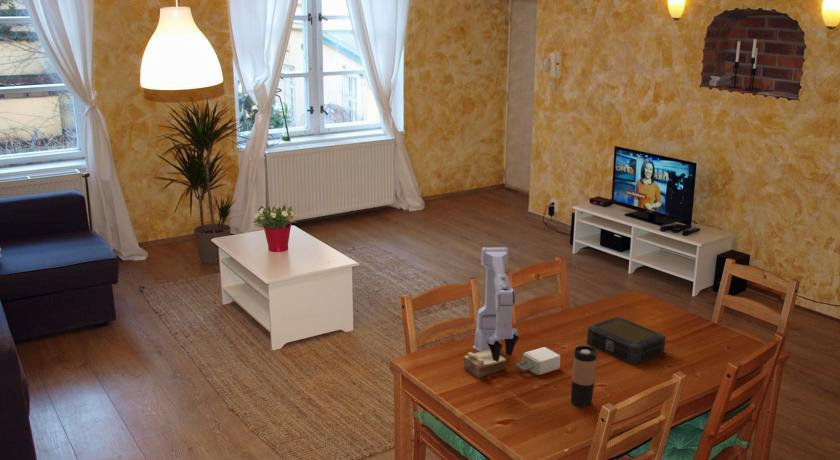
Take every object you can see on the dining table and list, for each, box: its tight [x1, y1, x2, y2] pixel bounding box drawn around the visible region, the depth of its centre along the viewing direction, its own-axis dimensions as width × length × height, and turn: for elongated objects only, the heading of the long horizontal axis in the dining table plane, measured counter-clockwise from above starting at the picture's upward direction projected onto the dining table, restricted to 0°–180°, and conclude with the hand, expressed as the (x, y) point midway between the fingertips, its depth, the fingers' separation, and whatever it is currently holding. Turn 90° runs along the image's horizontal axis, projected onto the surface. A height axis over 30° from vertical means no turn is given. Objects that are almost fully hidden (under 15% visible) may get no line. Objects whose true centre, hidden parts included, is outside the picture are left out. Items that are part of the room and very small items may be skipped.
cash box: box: [586, 316, 667, 365], centre depth 329 cm, size 25×20×8 cm
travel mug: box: [570, 345, 598, 409], centre depth 283 cm, size 8×8×20 cm
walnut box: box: [463, 358, 507, 379], centre depth 307 cm, size 10×12×5 cm
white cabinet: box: [523, 346, 561, 375], centre depth 308 cm, size 9×10×6 cm
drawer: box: [515, 353, 540, 376], centre depth 307 cm, size 9×15×6 cm, turn 123°
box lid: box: [463, 349, 507, 368], centre depth 306 cm, size 10×12×2 cm
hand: (502, 357), depth 295 cm, fingers open, 7 cm apart
